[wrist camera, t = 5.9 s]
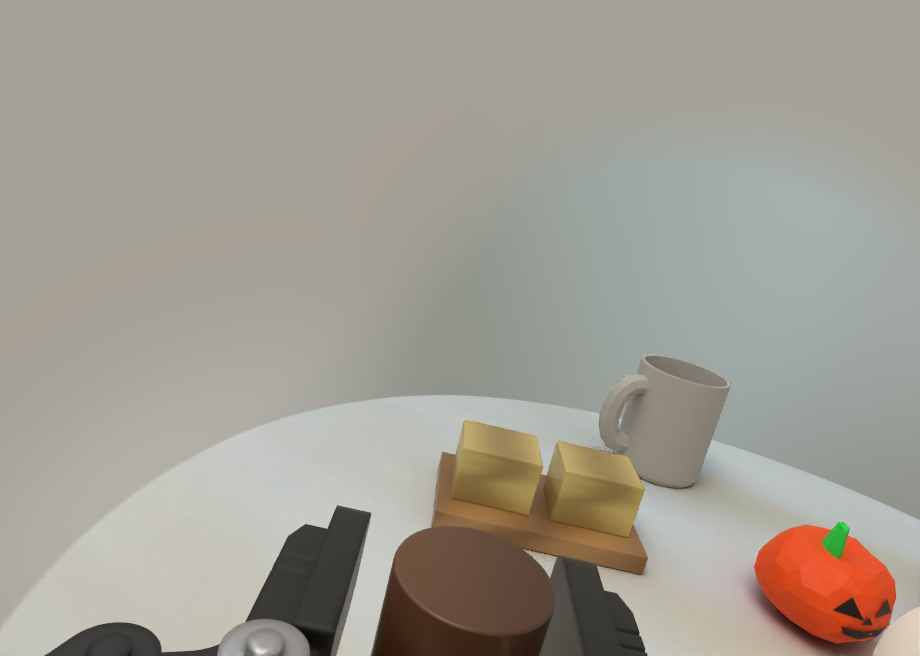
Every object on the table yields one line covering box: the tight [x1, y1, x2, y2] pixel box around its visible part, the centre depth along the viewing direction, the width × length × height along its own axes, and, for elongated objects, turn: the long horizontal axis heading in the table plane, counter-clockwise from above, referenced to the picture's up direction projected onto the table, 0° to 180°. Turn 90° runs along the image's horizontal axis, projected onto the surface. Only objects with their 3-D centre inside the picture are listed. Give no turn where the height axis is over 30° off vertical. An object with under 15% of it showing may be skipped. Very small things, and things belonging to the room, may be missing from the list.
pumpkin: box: [754, 522, 896, 644], centre depth 38 cm, size 7×8×6 cm
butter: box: [432, 420, 648, 574], centre depth 42 cm, size 13×8×5 cm, turn 89°
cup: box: [599, 354, 731, 488], centre depth 54 cm, size 7×10×9 cm
